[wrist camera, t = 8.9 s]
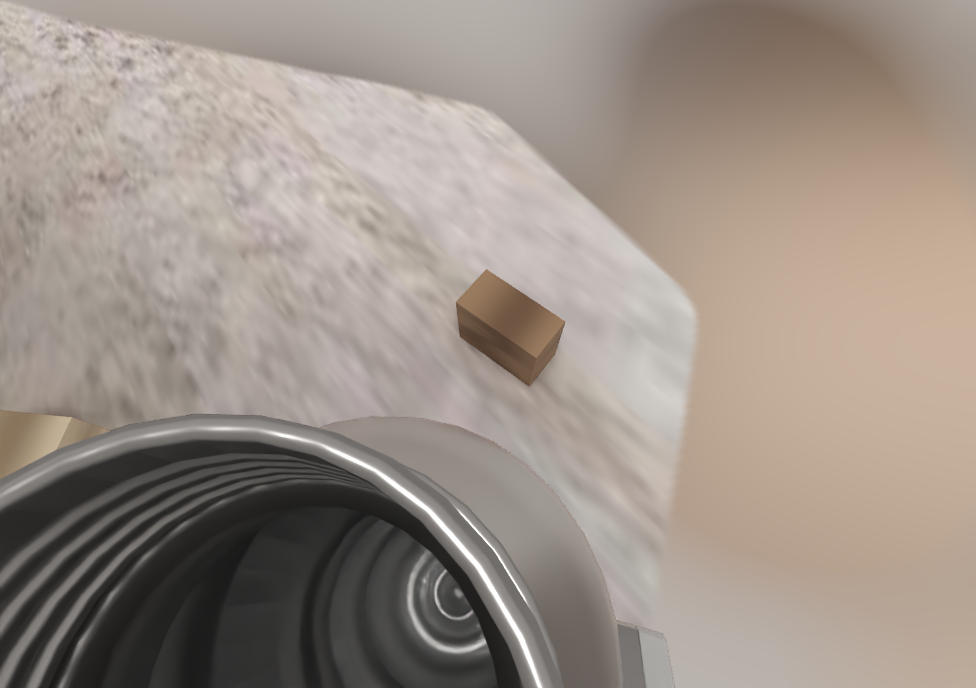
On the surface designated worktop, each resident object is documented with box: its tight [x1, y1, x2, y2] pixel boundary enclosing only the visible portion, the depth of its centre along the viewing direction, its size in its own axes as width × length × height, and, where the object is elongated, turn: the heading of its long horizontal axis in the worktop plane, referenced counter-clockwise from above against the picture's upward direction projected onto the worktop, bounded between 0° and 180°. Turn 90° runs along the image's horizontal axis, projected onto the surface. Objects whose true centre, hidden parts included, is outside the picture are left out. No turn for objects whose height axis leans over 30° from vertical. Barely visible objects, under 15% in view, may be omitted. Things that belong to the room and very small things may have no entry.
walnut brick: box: [456, 269, 565, 386], centre depth 31 cm, size 6×3×5 cm, turn 52°
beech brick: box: [0, 410, 110, 479], centre depth 28 cm, size 6×6×4 cm
